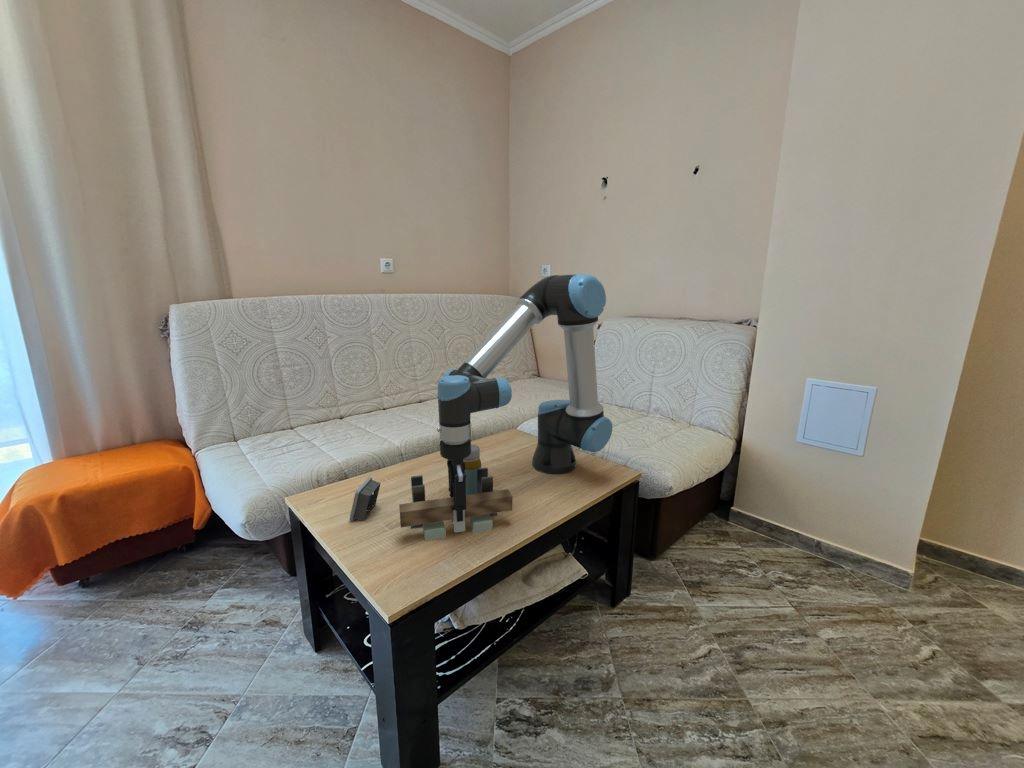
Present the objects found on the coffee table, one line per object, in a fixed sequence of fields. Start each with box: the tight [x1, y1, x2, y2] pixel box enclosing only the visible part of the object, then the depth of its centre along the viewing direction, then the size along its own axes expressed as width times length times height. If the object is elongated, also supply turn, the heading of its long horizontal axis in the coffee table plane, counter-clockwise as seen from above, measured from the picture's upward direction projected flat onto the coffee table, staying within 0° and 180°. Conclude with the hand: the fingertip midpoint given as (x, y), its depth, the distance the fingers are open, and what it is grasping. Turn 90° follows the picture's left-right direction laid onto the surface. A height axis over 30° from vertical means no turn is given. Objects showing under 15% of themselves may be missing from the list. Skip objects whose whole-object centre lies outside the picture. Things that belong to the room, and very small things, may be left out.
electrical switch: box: [349, 476, 381, 522], centre depth 114 cm, size 9×5×9 cm, turn 176°
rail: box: [398, 488, 513, 529], centre depth 105 cm, size 28×4×4 cm, turn 107°
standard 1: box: [410, 474, 426, 530], centre depth 110 cm, size 5×8×11 cm, turn 17°
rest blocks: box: [422, 514, 494, 542], centre depth 106 cm, size 17×5×2 cm, turn 107°
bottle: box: [463, 443, 482, 495], centre depth 123 cm, size 7×7×15 cm
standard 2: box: [477, 467, 498, 517], centre depth 115 cm, size 5×8×11 cm, turn 17°
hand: (457, 525), depth 106 cm, fingers closed on rail, 4 cm apart
